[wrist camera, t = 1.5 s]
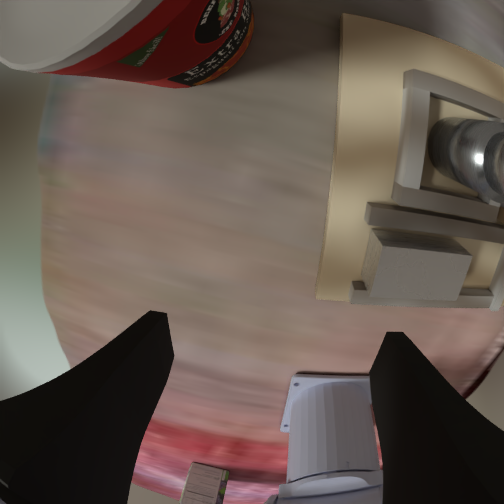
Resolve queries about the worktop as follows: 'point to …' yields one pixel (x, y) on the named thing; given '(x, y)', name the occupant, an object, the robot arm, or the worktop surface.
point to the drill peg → (470, 154)
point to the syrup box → (204, 485)
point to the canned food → (126, 38)
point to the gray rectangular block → (414, 266)
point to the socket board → (407, 159)
